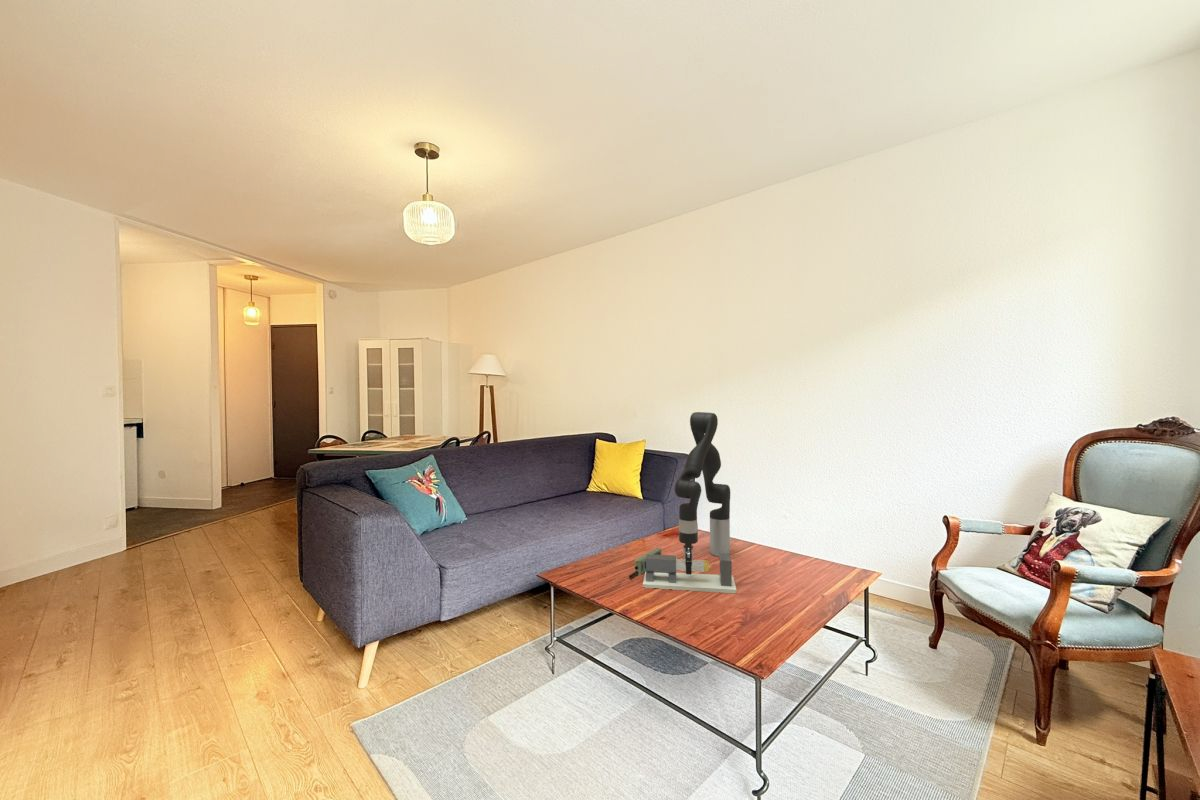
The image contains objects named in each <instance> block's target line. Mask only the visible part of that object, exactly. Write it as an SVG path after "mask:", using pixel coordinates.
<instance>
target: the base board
mask: <svg viewBox="0 0 1200 800" xmlns="http://www.w3.org/2000/svg"><path fill="white" fill-rule="evenodd" d="M735 583H736V582H735V578H734V575H732V586H721V582H720V574H712V573H711V574H710V573H709V574H708V573H706V574H705V573H693V572H691V575H689V574H686V572H676V583H668V573H656V572H655V575H654V581H653V582H649V581H646V572H645V573H644V576H643V581H642V588H643V587H645V588H644V589H653V588H659V589H658V590H669V589H672V590H673V591H674V590H675V591H686V590H689V592H691V591H692V592H707V593H719V592H720V593H724V594H738V593H737V586H736V584H735Z"/></svg>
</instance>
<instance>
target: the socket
mask: <svg viewBox="0 0 1200 800" xmlns="http://www.w3.org/2000/svg"><path fill="white" fill-rule="evenodd" d="M732 566H733V565H732V557H731V553H730V554H721V553H720V556H719V575H720V582H721V586H732V576H733V575H732V571H733V570H732V569H733V568H732Z"/></svg>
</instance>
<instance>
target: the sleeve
mask: <svg viewBox="0 0 1200 800" xmlns="http://www.w3.org/2000/svg"><path fill="white" fill-rule="evenodd" d="M676 559H677V555H668V554H661V555H653V554H647V556H646V581H649V582H653V581H654V575H655V572H656V573H668V583H676V573H677V570H676Z"/></svg>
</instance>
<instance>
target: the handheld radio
mask: <svg viewBox="0 0 1200 800" xmlns="http://www.w3.org/2000/svg"><path fill="white" fill-rule="evenodd" d="M647 554H653V555H662V548H661V547H656V548H654V549H651V551H649V552H646V553H645V554H643V555H641V556H639V557H637V558H635V560H634V570H635V572H632V573H631V574H629V576H628V578H629V579H632V578H634V577H635V576H642V575H643V574H645V573H644V572H646V556H647Z"/></svg>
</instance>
